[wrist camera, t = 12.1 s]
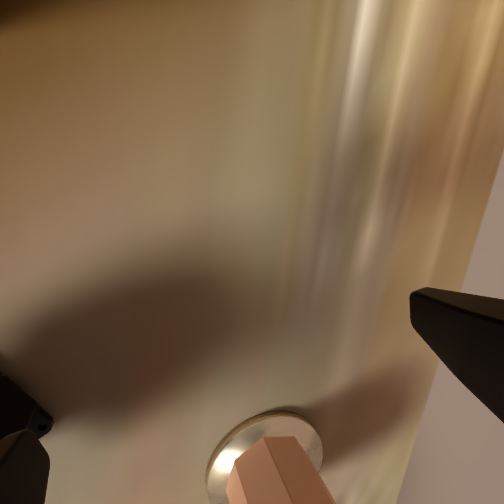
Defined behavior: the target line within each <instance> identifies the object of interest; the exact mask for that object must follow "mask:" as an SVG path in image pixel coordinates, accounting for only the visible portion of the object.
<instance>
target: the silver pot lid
mask: <svg viewBox="0 0 504 504" xmlns="http://www.w3.org/2000/svg"><path fill="white" fill-rule="evenodd" d="M285 436H294V437H295V438H296V439H297V441H298V442H299V443H300V445H301V446H302V448H303V449H304V450H305V452H306V453H307V454H308V456H309V458H310V459H311V461H312V463H313V464H314V466H315V468H316V470H317V471H318V473H319V471H320V468H321V464H322V459H323V447H322V443H321V440H320V437H319V436H318V434H317V432H316V431H315V429H314V428H313V426H312V425H311V424H310V422H309V421H307V420H306V419H305V418H304V417H302V416H300V415H298V414H295V413H292V412H286V411H274V412H268V413H264V414H260V415H257V416H255V417H252V418H250V419H248V420H246V421H245V422H243V423H241V424H240V425H238V426H237V427H235V428H234V429H233V430H232V431H231V432H229V433H228V434H227V435H226V436H225V437H224V438H223V439H222V441H221V442H220V443H219V444H218V446H217V447H216V449H215V450H214V452H213V454H212V456H211V458H210V460H209V463H208V466H207V471H206V487H207V492H208V497H209V500H210V503H211V504H230V503H229V499H228V496H227V492H226V488H227V484H228V481H229V477H230V473H231V469H232V466H233V462H234V460H235V459H236V458H237V457H239V456H240V455H241V454H242V453H244V452H245V451H246V450H248V449H249V448H250V447H251V446H253V445H254V444H255V443H257V442H258V441H259V440H260V439H262V438H264V437H285Z"/></svg>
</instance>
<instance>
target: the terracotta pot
mask: <svg viewBox="0 0 504 504" xmlns="http://www.w3.org/2000/svg"><path fill="white" fill-rule="evenodd" d="M226 492H227V496H228V499H229V503H230V504H336V503H335V501H334V499H333V497H332V496H331V494H330V492H329V491H328V489H327V487H326V485H325V484H324V482H323V480H322V478H321V477H320V475H319V473H318V471H317V470H316V468H315V466H314V464H313V463H312V461H311V459H310V458H309V456H308V454H307V453H306V452H305V450H304V449H303V448H302V446H301V445H300V443H299V442H298V441H297V439H296V438H295V437H294V436H285V437H264V438H262V439H260V440H259V441H258V442H257V443H255V444H254V445H253V446H251V447H250V448H249V449H248V450H246V451H245V452H244V453H242V454H241V455H240V456H239V457H237V458H236V459H235V460H234V462H233V466H232V469H231V473H230V477H229V481H228V484H227V488H226Z"/></svg>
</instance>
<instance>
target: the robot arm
mask: <svg viewBox="0 0 504 504" xmlns="http://www.w3.org/2000/svg"><path fill="white" fill-rule="evenodd" d="M409 299H410V319H411V323H412V326H413V327H414V329H415V330H416V332H417V333H418V334H419V335H420V336H421V337H422V338H423V340H424V341H425V342H426V343H427V344H428V345H429V346H430V348H431V349H432V350H433V351H434V352H435V353H436V355H437V356H438V357H439V358H440V359H441V360H442V361H443V363H444V364H445V365H446V366H447V367H448V368H449V370H450V371H451V372H452V373H453V374H454V375H455V376H456V377H457V378H458V379H459V380H460V381H461V382H462V383H463V384H464V385H465V386H466V387H467V388H468V389H469V390H470V391H471V392H472V393H473V394H474V395H475V396H476V397H477V398H478V399H479V400H480V401H481V402H482V403H483V404H485V405H486V407H488V408H489V409H490V410H491V411H492V412H493V413H494V414H495V415H496V416H497V417H498V418H499V419H500V420H501V421H502V422H503V423H504V300H503V299H497V298H491V297H484V296H478V295H472V294H466V293H460V292H454V291H448V290H442V289H436V288H430V287H425V288H422V289H419V290H416V291H413V292H412V293H411V294H410V298H409ZM53 423H54V420H53V418H52V417H51V416H50V415H49V414H48V413H46V412H45V411H44V410H43V409H42V408H41V407H39V406H38V405H37V402H36V401H35V400H33V399H32V398H31V397H30V396H29V395H28V394H26V393H25V392H24V391H23V390H22V389H21V388H20V387H18V386H17V385H16V384H15V383H14V382H13V381H11V380H10V379H9V378H8V377H7V376H4V375H2V374H1V373H0V504H45V497H46V490H47V483H48V477H49V470H50V459H49V455H48V453H47V452H46V450H45V449H44V447H43V446H42V444H41V443H40V441H39V440H38V439H39V438H41V437H42V436H44V435H45V434H47V433H48V432H49V431H50V430H51V428H52V426H53ZM40 424H46V426H41V425H40Z"/></svg>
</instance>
